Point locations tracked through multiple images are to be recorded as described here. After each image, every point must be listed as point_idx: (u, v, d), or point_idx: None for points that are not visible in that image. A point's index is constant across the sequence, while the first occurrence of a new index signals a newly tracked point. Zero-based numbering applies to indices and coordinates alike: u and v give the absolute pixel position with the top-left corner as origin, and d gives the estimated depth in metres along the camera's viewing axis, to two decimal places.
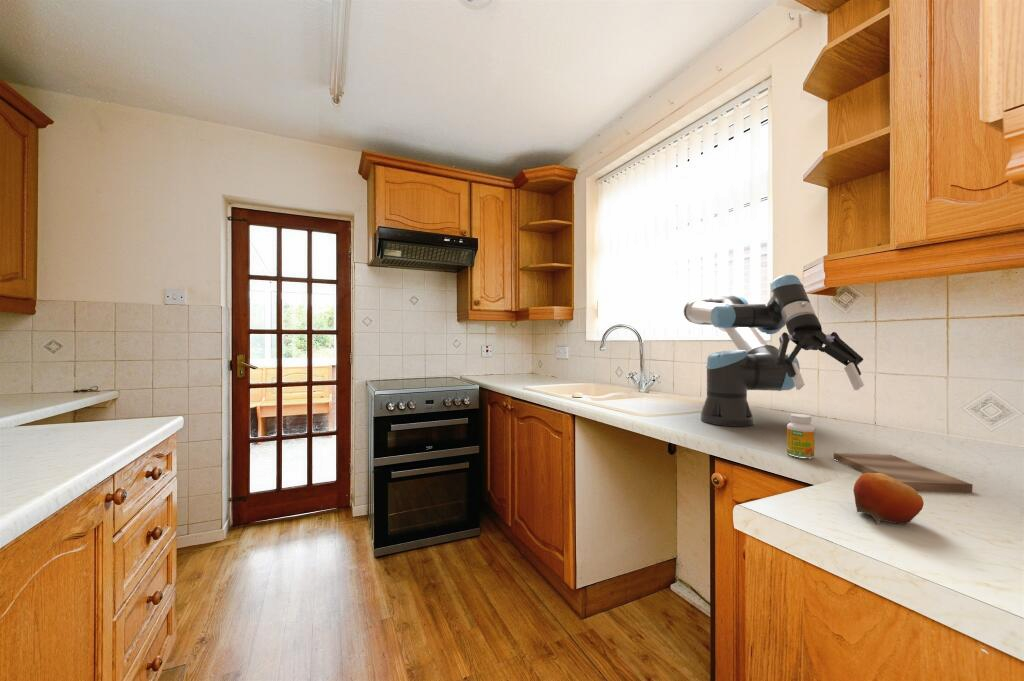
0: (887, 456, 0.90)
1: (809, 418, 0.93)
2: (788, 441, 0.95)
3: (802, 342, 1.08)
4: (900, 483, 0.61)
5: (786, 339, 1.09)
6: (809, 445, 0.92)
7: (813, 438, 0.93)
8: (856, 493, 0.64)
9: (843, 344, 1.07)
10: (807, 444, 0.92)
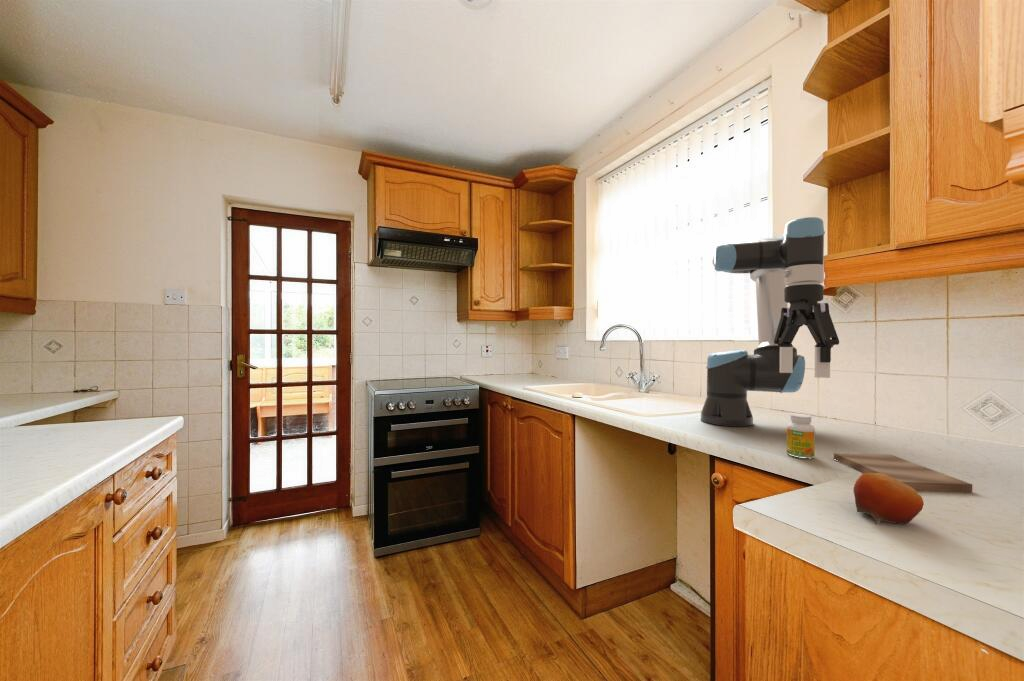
0: (887, 456, 0.90)
1: (809, 418, 0.93)
2: (788, 441, 0.95)
3: (787, 322, 0.98)
4: (900, 483, 0.61)
5: (782, 317, 1.02)
6: (809, 445, 0.92)
7: (813, 438, 0.93)
8: (856, 493, 0.64)
9: (817, 321, 0.88)
10: (807, 444, 0.92)
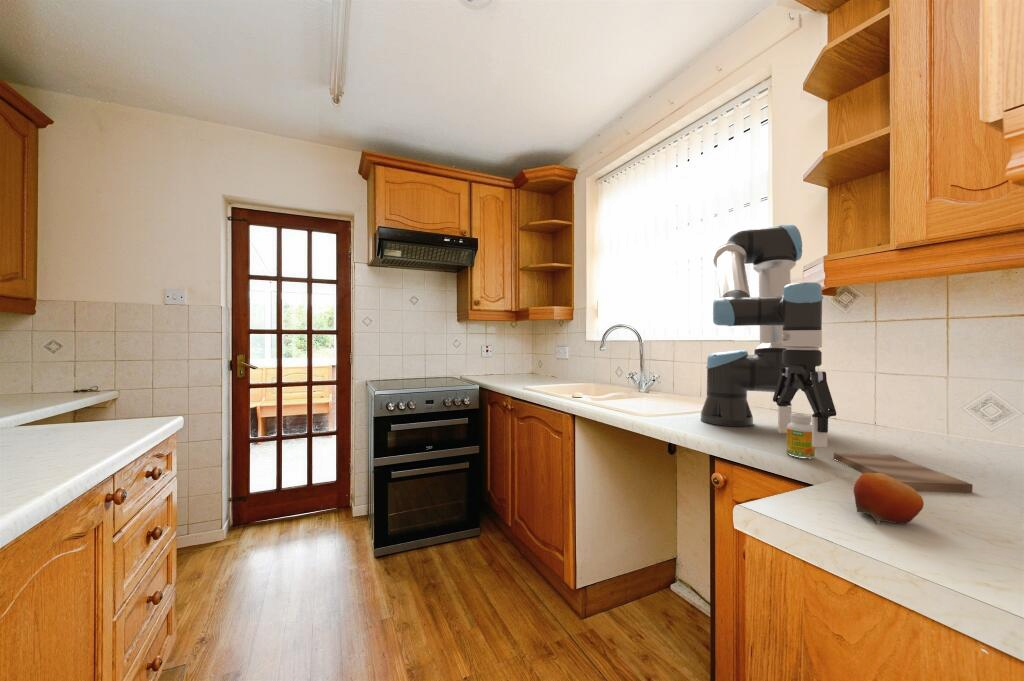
0: (887, 456, 0.90)
1: (809, 418, 0.93)
2: (788, 441, 0.95)
3: (786, 383, 0.98)
4: (900, 483, 0.61)
5: (780, 377, 1.01)
6: (809, 445, 0.92)
7: None
8: (856, 493, 0.64)
9: (815, 390, 0.88)
10: (807, 444, 0.92)
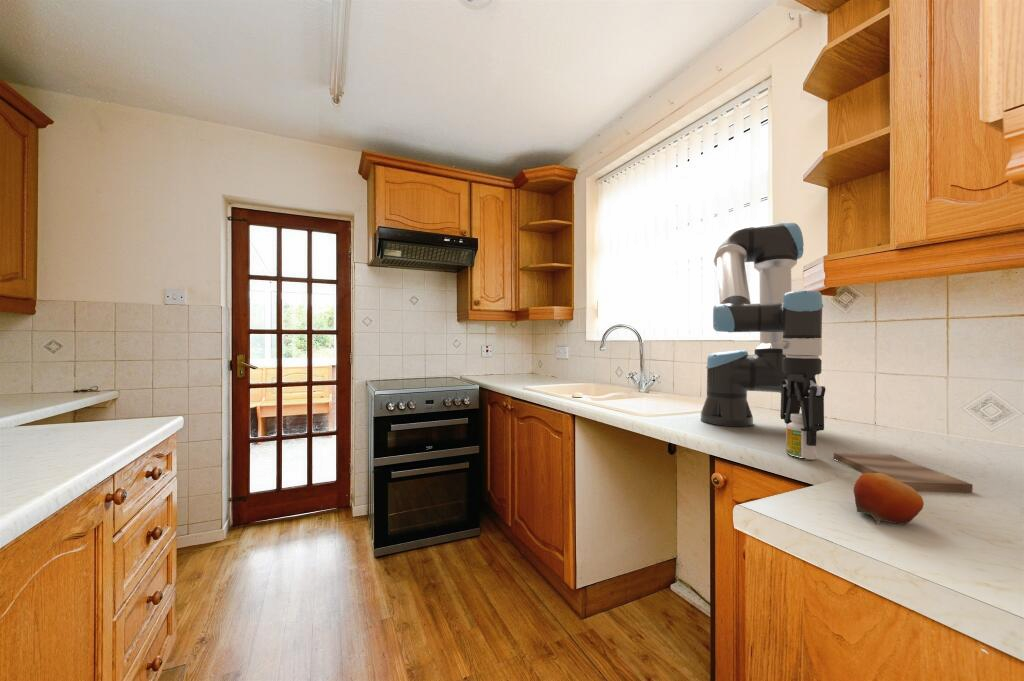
0: (887, 456, 0.90)
1: None
2: (788, 441, 0.95)
3: (788, 394, 0.97)
4: (900, 483, 0.61)
5: (782, 389, 1.01)
6: None
7: None
8: (856, 493, 0.64)
9: (809, 404, 0.90)
10: None
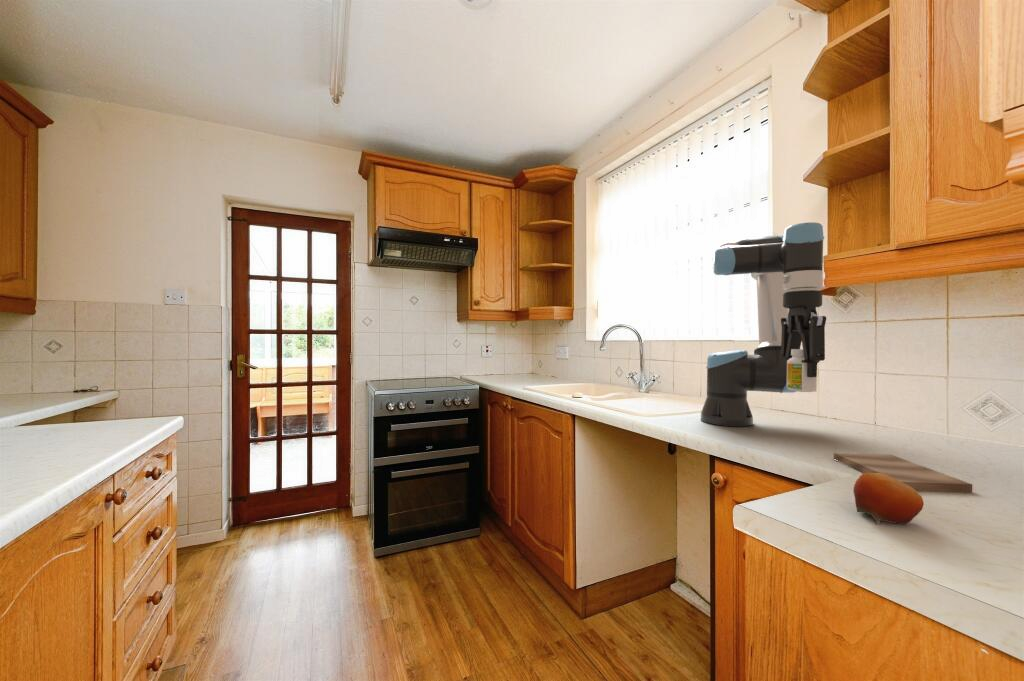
0: (887, 456, 0.90)
1: None
2: (789, 376, 0.95)
3: (789, 329, 0.97)
4: (900, 483, 0.61)
5: (783, 327, 1.00)
6: None
7: None
8: (856, 493, 0.64)
9: (810, 334, 0.89)
10: None
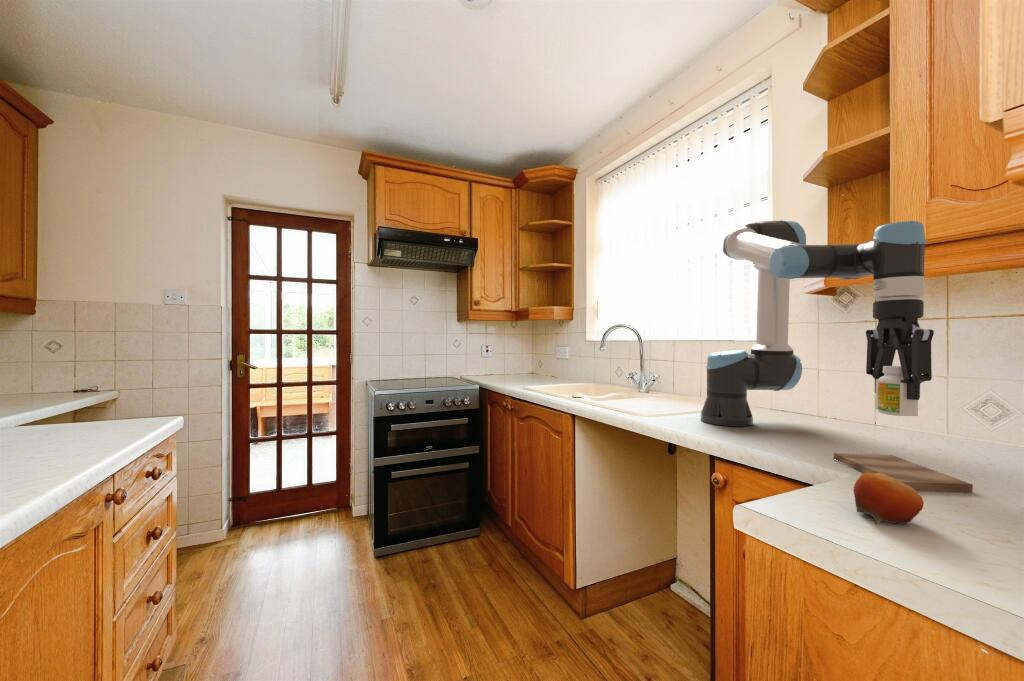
0: (887, 456, 0.90)
1: None
2: (882, 397, 0.83)
3: (879, 343, 0.85)
4: (900, 483, 0.61)
5: (869, 341, 0.88)
6: None
7: None
8: (856, 493, 0.64)
9: (913, 351, 0.77)
10: None
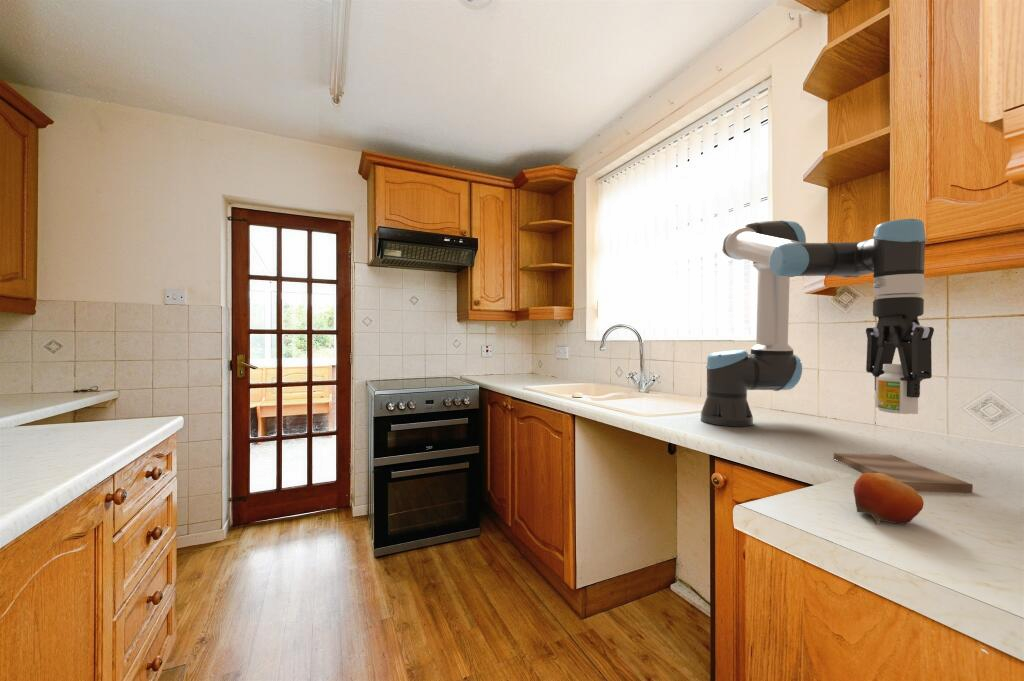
0: (887, 456, 0.90)
1: None
2: (882, 395, 0.83)
3: (879, 341, 0.85)
4: (900, 483, 0.61)
5: (869, 339, 0.88)
6: None
7: None
8: (856, 493, 0.64)
9: (913, 348, 0.77)
10: None
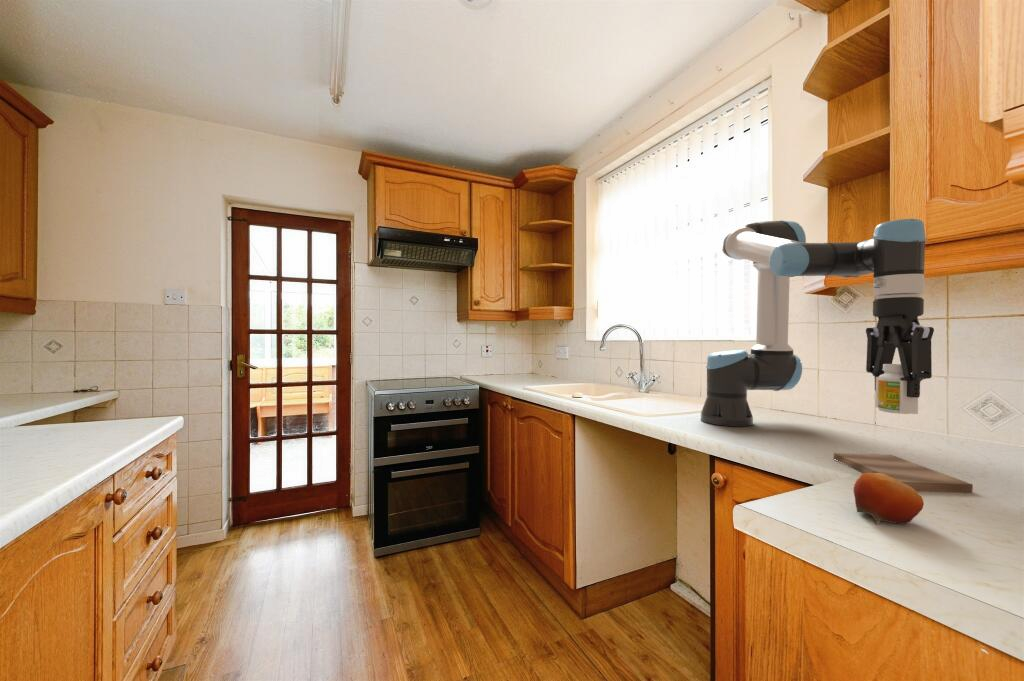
0: (887, 456, 0.90)
1: None
2: (882, 395, 0.83)
3: (879, 341, 0.85)
4: (900, 483, 0.61)
5: (869, 338, 0.88)
6: None
7: None
8: (856, 493, 0.64)
9: (913, 348, 0.77)
10: None
